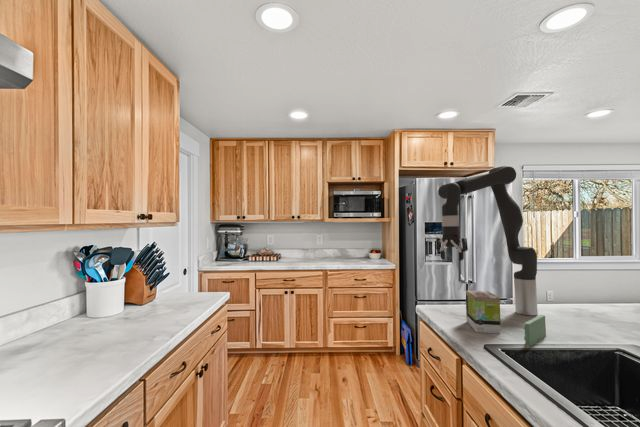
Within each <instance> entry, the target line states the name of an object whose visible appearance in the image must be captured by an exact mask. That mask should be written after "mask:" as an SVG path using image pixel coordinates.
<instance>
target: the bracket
mask: <svg viewBox="0 0 640 427" xmlns="http://www.w3.org/2000/svg"><path fill="white" fill-rule="evenodd" d="M523 324H524V325H523V330H524V336H523V340H524V342H525V346H526V345H527V347H532V346H533V345H535V344H536V343H538V342H539V341H541V340H542V339H544V338H545V337H547V330H546V329H547V328H546V326H547V325H546V315H544V314H539V315H536V317H534V318H532V319H529V320H528V321H526V322H524V323H523Z"/></svg>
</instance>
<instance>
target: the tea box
mask: <svg viewBox="0 0 640 427" xmlns="http://www.w3.org/2000/svg"><path fill="white" fill-rule="evenodd" d="M500 299H501V298H500V297H499V296H497V295H495V294H494V293H492V292H491V291H489V290H465V310H466V311H465V312H466V323H467V324H468V325H469V326H470V327H471V328H472V329H473V331H475V332H476V333H481V334H485V333H486V334H501V333H502V326H501V325H502V324H501V323H502V322H501V301H500Z"/></svg>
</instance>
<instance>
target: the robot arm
mask: <svg viewBox="0 0 640 427" xmlns="http://www.w3.org/2000/svg"><path fill="white" fill-rule="evenodd" d="M516 179H517V171H516V169H515V168H514V167H513V166H511V165H503V166H502V165H501V166H498V167H493V168H491V169H490V170H489V171H488V173H484V174H480V175H476V176H471V177H468V178H463V179H460V180H458V181H455V182H449V183H444V184H443V185H440V186H439V188H438V189H437V190H438V191H437V192H438V194H437V195H438V196H439V197H440V198H441V199H444V200H446V201H445V203H443V204H442V207H441V216H442V217H441V232H442V233H441V235H442V237H436V240H435V250H436V251H439V252H440V256H439V257H440V258H441V260H446V252H445V251H446V249H447V248H455V249H456V250H457V251H458V261H460V262H462V261H463V260H464V259H465V257H464V253H465V252H468V250H469V246H468V240H467V237H460V234H461V233H460V220H459V218H460V217H459V203H460V200H461V196H462V195H465V194H469V193H474V192H476V191H480V190H482V189H485V188H488V187H489V188H491V191H492V192H493V196H494V198H495V203H496V204H497V209H498V212H499V217H500V220H501V224H502V226H503V228H502V229H503V231H504V236H505V240H506V247H507V253H508V254H507V255H508V258H509V260H510V262H511V263H512V264H514V265H520V266H521V267H522V268H521V269H520V270H518V271H517V270H516V271H514V272H513V283H514V284H513V286H514V287H513V288H514V306H515V313H516V314H519V315H523V316H539V315H538V295H537V280H536V279H537V274H538V256H537V251H536V249H534V248H533V247H532V246H521V245H520V242H519V234H520V231H521V229H522V227H523V223H524V218H523V215H522V211H521V208H520V206H519V204H518V203H517V202H516V201H515V200H514V199H513V197H511V196H510V194H509V192H508V190H507V188H506V187H507V186H506V185H509V184H511V183H512V184H513V182H514V181H515V180H516ZM442 242H443V243H442ZM460 242H461V244H460Z"/></svg>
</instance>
